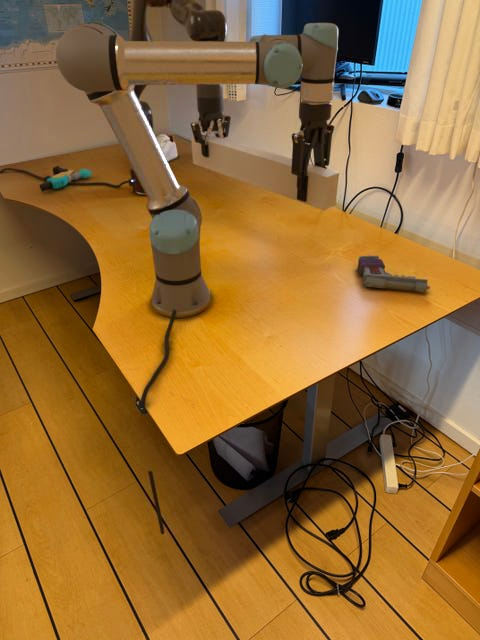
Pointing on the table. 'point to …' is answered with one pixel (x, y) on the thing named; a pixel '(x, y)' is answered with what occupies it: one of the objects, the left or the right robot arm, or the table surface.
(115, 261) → the table surface
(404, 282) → the toy gun
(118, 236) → the table surface
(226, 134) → the left robot arm
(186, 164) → the table surface
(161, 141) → the sneaker
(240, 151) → the bar
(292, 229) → the table surface
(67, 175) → the toy gun
